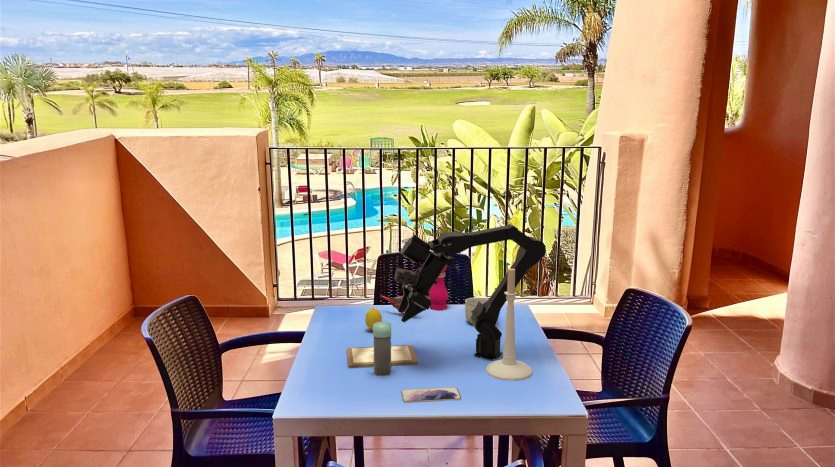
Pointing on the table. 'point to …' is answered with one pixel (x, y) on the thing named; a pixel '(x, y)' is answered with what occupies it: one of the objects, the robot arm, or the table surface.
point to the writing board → (366, 356)
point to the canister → (382, 348)
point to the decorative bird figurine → (395, 302)
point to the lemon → (372, 317)
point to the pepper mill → (439, 293)
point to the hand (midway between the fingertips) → (400, 316)
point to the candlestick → (509, 343)
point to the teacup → (472, 306)
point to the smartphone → (430, 395)
